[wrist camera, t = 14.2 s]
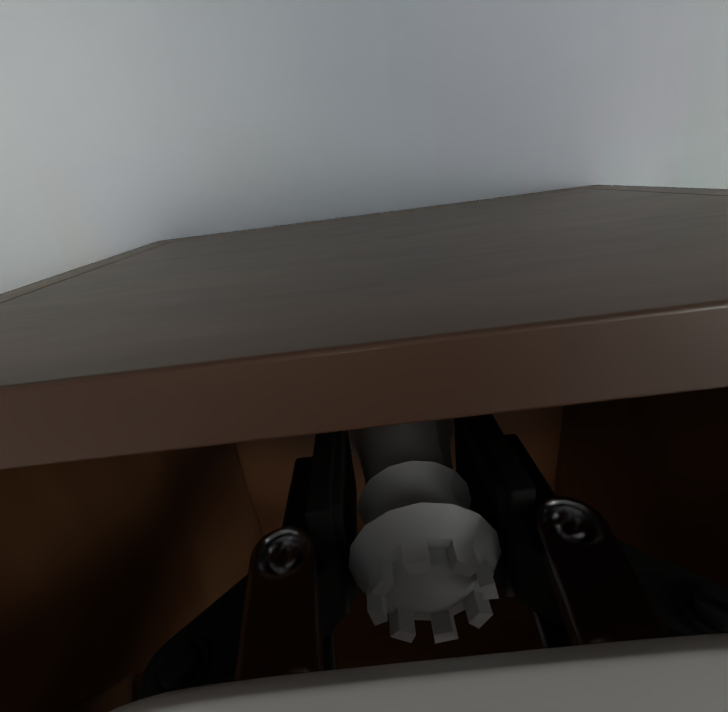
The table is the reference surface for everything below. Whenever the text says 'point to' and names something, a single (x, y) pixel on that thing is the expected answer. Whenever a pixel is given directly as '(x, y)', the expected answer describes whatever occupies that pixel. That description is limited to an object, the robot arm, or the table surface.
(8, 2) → the table surface
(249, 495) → the chest
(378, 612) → the rook chess piece
